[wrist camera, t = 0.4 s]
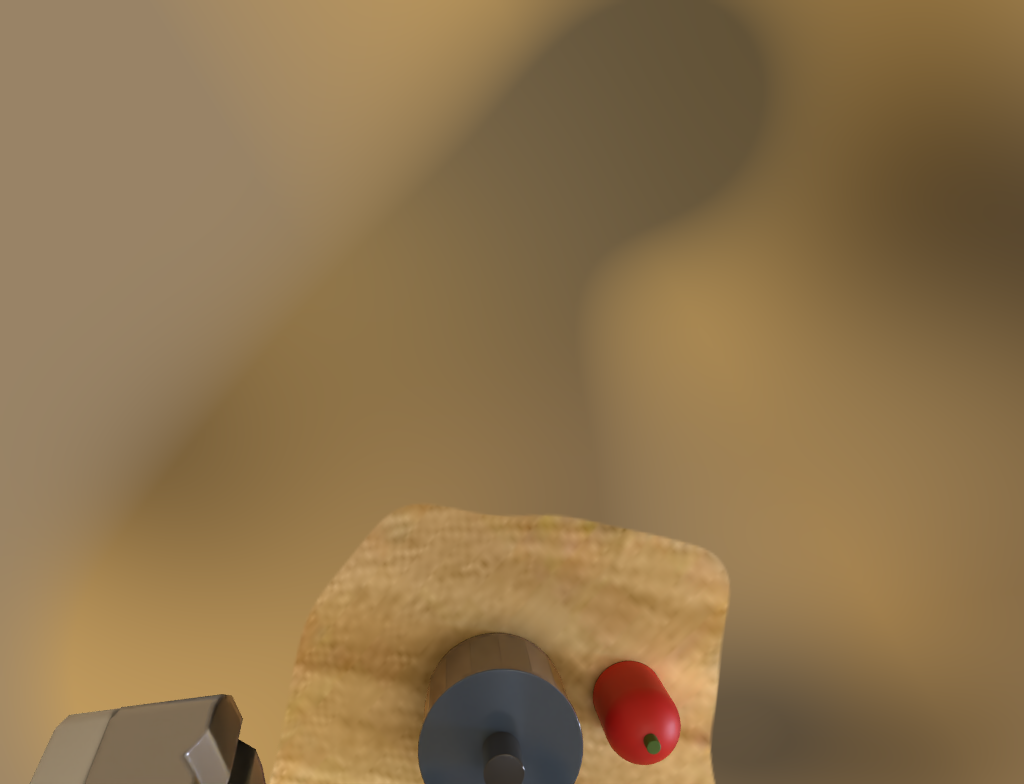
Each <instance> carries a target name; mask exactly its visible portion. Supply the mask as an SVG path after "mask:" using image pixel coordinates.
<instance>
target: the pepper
mask: <svg viewBox="0 0 1024 784" xmlns="http://www.w3.org/2000/svg"><path fill="white" fill-rule="evenodd" d="M593 703H594V707H595V709H596V712H597V715H598V717H599V720H600V722H601V725H602V727H603V730H604V732H605V735H606V737H607V740H608V742H609V744H610V745H611V747H612V748H613V750H614V751H615V752H616V753H617V754H618V755H619V756H620V757H622V758H623V759H625V760H627V761H629V762H631V763H634V764H639V765H649V764H654V763H657V762H659V761H661V760H663V759H664V758H666V757H667V756H668V755H669V754H670V753H671V752H672V751H673V749H674V748H675V746H676V744H677V742H678V739H679V736H680V728H681V724H680V717H679V713H678V710H677V708H676V706H675V704H674V702H673V701H672V699H671V698H670V696H669V694H668V693H667V691H666V689H665V688H664V686H663V685H662V683H661V681H660V680H659V678H658V677H657V675H656V674H655V673H654V671H653V670H652V669H650V668H649V667H648V666H646V665H644V664H642V663H639V662H634V661H624V662H619V663H616V664H614V665H612V666H610V667H609V668H607V669H606V670H605V671H604V672H603V673H602V674H601V675H600V676H599V678H598V680H597V682H596V684H595V687H594V691H593Z"/></svg>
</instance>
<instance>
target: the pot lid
mask: <svg viewBox="0 0 1024 784" xmlns="http://www.w3.org/2000/svg"><path fill="white" fill-rule="evenodd" d="M582 756H583V737H582V731H581V727H580V723H579V720H578V717H577V715H576V712H575V710H574V708H573V706H572V705H571V703H570V701H569V700H568V698H567V697H566V696H565V694H564V693H563V692H562V691H561V690H560V689H559V688H558V687H557V686H556V685H555V684H553V683H552V682H551V681H549V680H548V679H546V678H545V677H543V676H541V675H540V674H537V673H535V672H533V671H530V670H527V669H523V668H519V667H512V666H493V667H486V668H482V669H479V670H475V671H473V672H470V673H468V674H465V675H464V676H462V677H460V678H458V679H457V680H455V681H454V682H453V683H451V684H450V685H448V686H447V687H446V688H445V689H444V690H443V691H442V692H441V693H440V694H439V695H438V697H437V698H436V699H435V700H434V702H433V703H432V705H431V706H430V708H429V710H428V711H427V713H426V716H425V718H424V720H423V723H422V727H421V730H420V735H419V742H418V760H419V767H420V771H421V775H422V778H423V780H424V783H425V784H574V783H575V781H576V778H577V776H578V774H579V770H580V767H581V763H582Z"/></svg>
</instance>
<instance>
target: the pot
mask: <svg viewBox="0 0 1024 784" xmlns="http://www.w3.org/2000/svg"><path fill="white" fill-rule="evenodd" d="M493 666H512V667H519V668H523V669H527V670H530V671H533V672H535V673H537V674H540V675H541V676H543V677H545V678H546V679H548V680H549V681H551V682H552V683H553V684H555V685H556V686H557V687H558V688H559V689H560V690H561V691H562V692H563V693H564V694H565V696H566V697H567V695H566V692H565V689H564V686H563V683H562V680H561V677H560V675H559V673H558V672H557V670H556V668H555V666H554V664H553V663H552V661H551V660H550V659H549V657H548V656H547V655H546V654H545V653H544V652H543V651H542V650H541V649H540V648H538V647H537V646H536V645H535V644H533V643H531V642H529V641H528V640H526V639H523V638H521V637H518V636H515V635H511V634H504V633H489V634H482V635H478V636H475V637H472V638H470V639H467V640H465V641H463V642H461V643H460V644H458V645H457V646H455V647H454V648H453V649H451V650H450V651H449V652H448V653H447V654H446V655H445V656H444V657H443V658H442V660H441V661H440V662H439V663H438V665H437V667H436V668H435V670H434V672H433V674H432V676H431V678H430V682H429V686H428V691H427V696H426V700H425V710H424V718H425V716H426V713H427V711H428V710H429V708H430V706H431V705H432V703H433V702H434V700H435V699H436V698H437V697H438V695H439V694H440V693H441V692H442V691H443V690H444V689H445V688H446V687H447V686H448V685H450V684H451V683H453V682H454V681H455V680H457V679H458V678H460V677H462V676H464V675H465V674H468V673H470V672H473V671H475V670H479V669H482V668H486V667H493Z"/></svg>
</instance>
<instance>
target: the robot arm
mask: <svg viewBox="0 0 1024 784" xmlns="http://www.w3.org/2000/svg"><path fill="white" fill-rule="evenodd" d="M242 720H243V718H242V716H241V714H240V712H239V710H238V708H237V706H236V703H235V701H234V700H233V697H232V696H231V695H224V694H221V695H213V696H205V697H198V698H190V699H183V700H174V701H167V702H159V703H151V704H144V705H136V706H128V707H121V708H120V709H112V710H104V711H97V712H90V713H82V714H74V715H69V716H68V717H67V718H66V719H65V720H64V721H63V722H62V723H61V724H60V725H59V726H58V727H57V728H56V729H55V730H54V732H53V735H52V736H51V739H50V741H49V743H48V745H47V747H46V750H45V752H44V754H43V756H42V758H41V760H40V762H39V765H38V767H37V769H36V771H35V774H34V776H33V778H32V780H31V782H30V784H266V783H265V778H264V773H263V768H262V764H261V762H260V759H259V757H258V754H257V752H256V749H254V748H252V747H251V746H249V745H247V744H245V743H244V742H242V741H241V740H239V739H238V738H239V734H240V729H241V724H242Z"/></svg>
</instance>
